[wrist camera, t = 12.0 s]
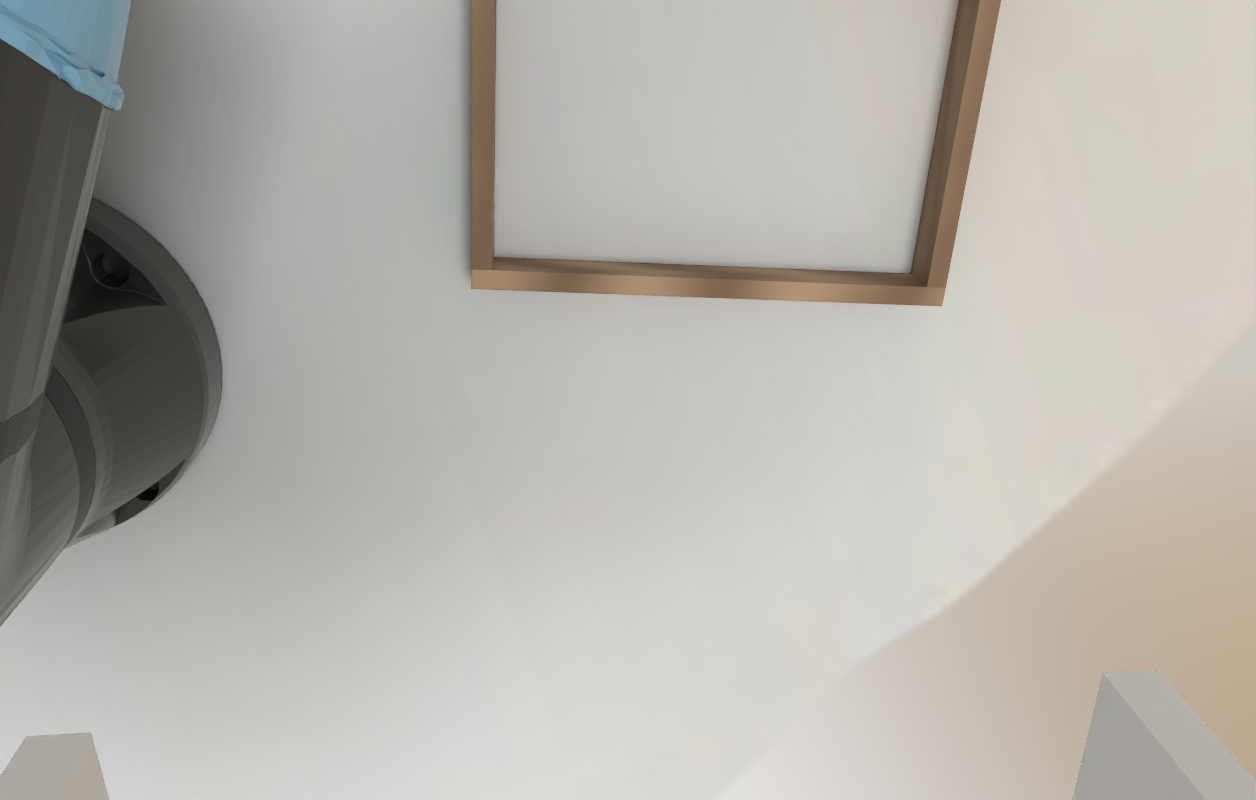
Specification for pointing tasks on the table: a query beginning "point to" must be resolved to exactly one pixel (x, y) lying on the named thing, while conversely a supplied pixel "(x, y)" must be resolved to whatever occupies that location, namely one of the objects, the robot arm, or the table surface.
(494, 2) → the walnut frame
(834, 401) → the table surface
